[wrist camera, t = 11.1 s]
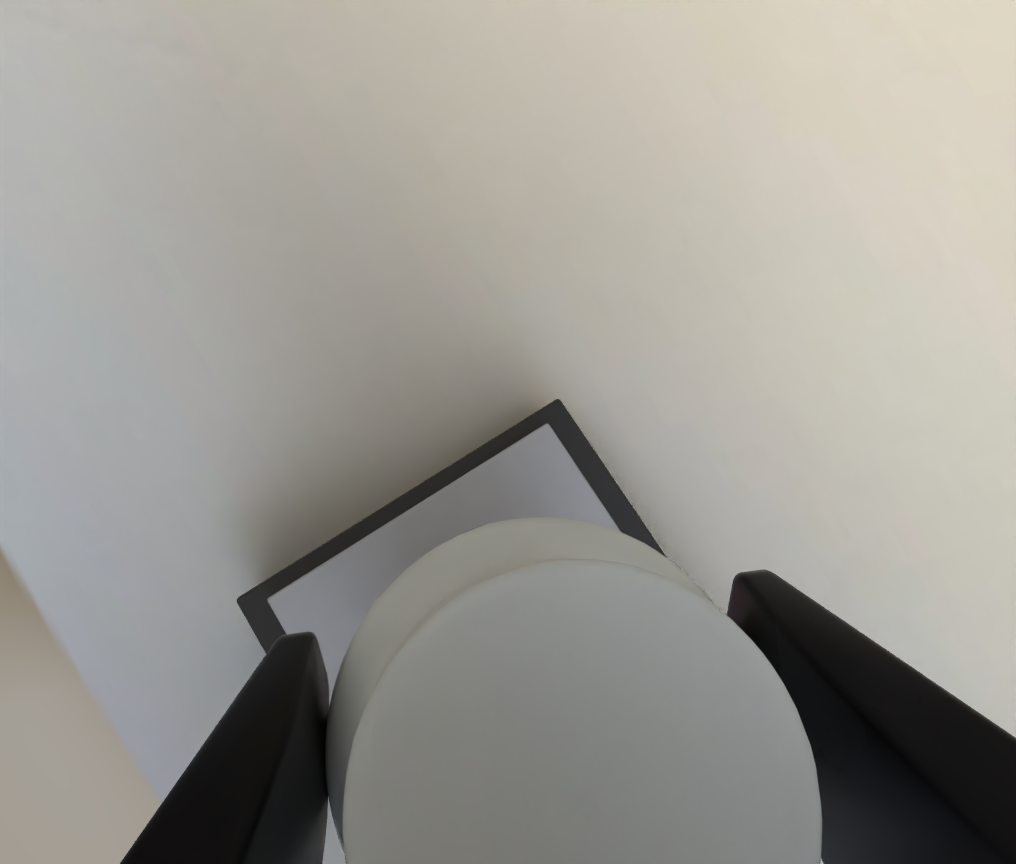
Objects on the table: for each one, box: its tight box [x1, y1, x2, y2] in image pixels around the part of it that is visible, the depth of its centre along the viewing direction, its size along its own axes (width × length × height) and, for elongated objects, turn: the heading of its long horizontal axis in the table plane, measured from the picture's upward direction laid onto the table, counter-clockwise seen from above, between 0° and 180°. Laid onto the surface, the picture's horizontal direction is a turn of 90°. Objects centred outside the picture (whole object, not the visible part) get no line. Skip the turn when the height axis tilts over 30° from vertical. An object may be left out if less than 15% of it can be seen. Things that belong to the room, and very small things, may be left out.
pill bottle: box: [325, 517, 822, 864], centre depth 10 cm, size 5×5×10 cm
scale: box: [237, 399, 667, 706], centre depth 19 cm, size 10×10×3 cm
